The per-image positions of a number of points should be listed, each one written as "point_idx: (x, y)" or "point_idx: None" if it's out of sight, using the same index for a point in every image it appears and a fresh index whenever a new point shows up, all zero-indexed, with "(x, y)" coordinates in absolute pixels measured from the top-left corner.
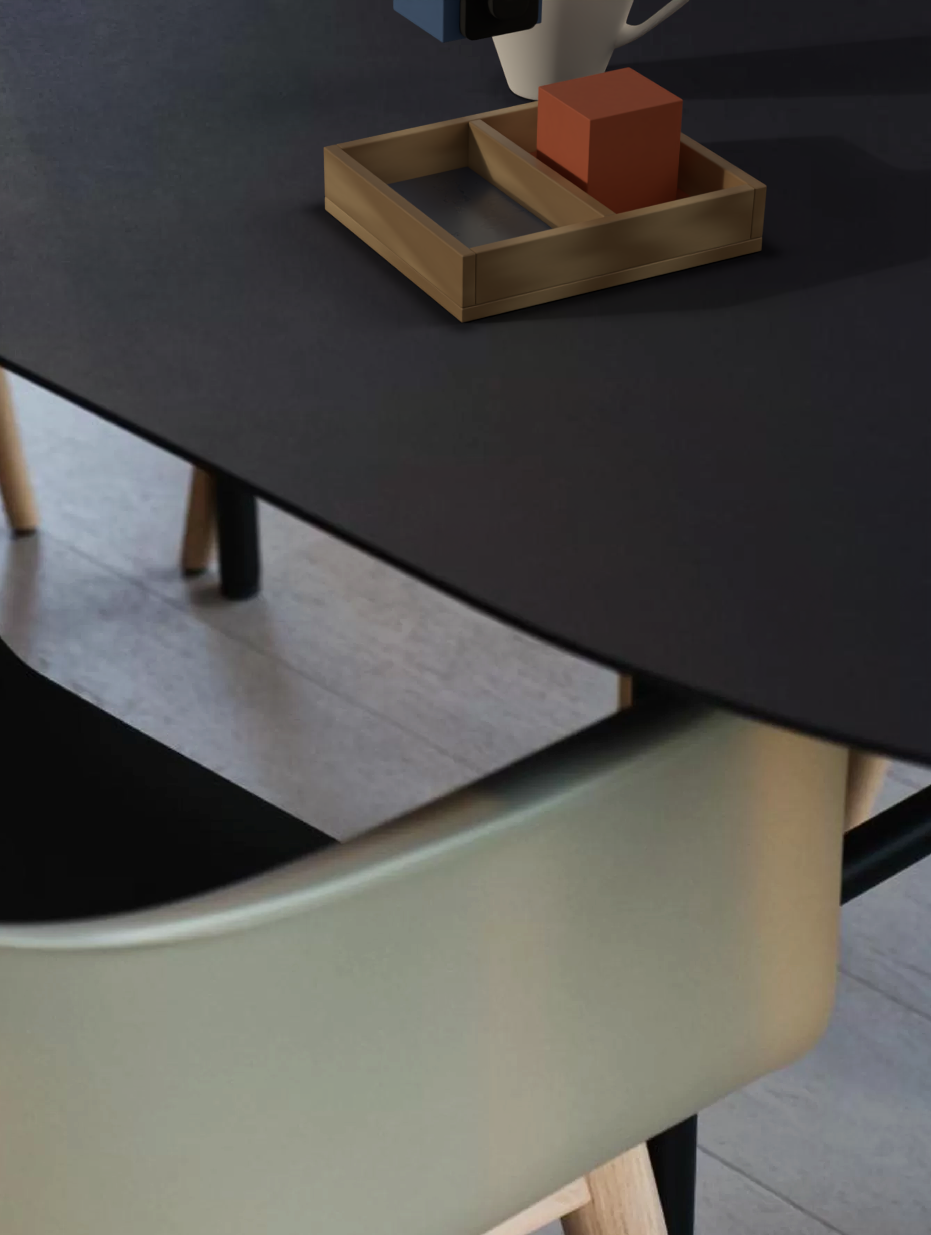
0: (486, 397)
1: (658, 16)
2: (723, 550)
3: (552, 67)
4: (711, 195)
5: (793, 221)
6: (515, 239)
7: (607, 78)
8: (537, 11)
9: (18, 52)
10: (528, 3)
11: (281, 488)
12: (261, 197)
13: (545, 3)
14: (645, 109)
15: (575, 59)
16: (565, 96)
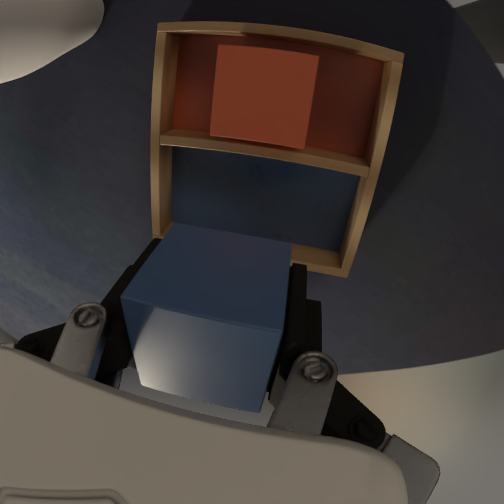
0: (407, 290)
1: None
2: None
3: (89, 30)
4: (392, 95)
5: (364, 5)
6: (352, 242)
7: (230, 76)
8: (306, 271)
9: None
10: (319, 303)
11: (390, 369)
12: (137, 237)
13: (64, 40)
14: (313, 93)
15: (93, 15)
16: (244, 130)
